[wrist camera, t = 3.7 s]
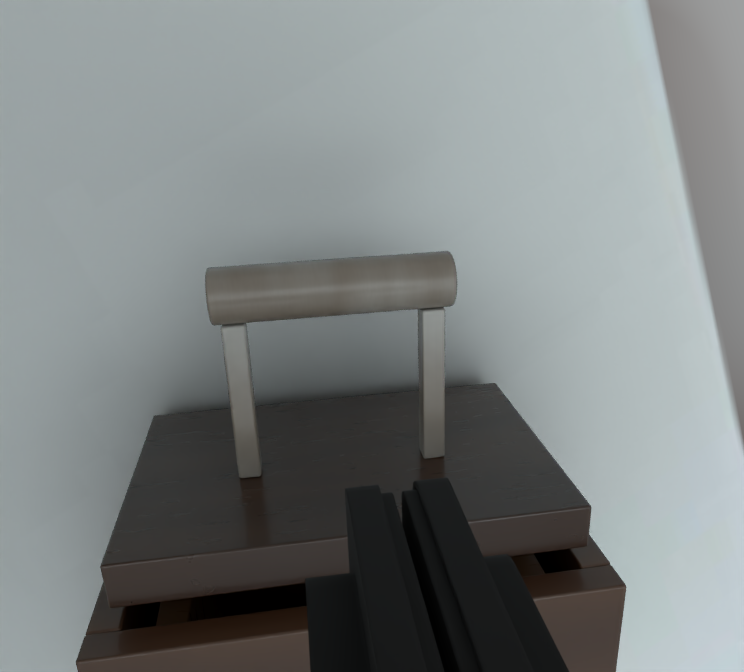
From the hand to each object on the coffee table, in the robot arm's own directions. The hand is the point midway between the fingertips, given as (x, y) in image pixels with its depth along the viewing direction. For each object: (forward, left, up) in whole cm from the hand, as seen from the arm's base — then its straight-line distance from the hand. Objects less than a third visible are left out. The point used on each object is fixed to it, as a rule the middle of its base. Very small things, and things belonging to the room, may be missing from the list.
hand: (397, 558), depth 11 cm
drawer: (0, -6, -11) cm, 13 cm away
